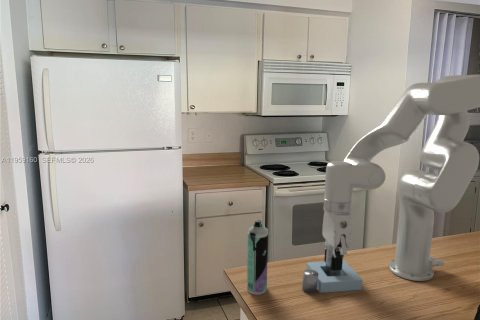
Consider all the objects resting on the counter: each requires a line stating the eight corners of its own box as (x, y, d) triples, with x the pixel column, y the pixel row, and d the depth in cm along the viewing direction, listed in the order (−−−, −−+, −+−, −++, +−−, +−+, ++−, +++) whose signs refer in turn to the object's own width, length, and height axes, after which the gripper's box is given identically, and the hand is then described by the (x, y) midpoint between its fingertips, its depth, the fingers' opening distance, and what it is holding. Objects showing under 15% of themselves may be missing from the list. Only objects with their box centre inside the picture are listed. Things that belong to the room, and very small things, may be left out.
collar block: (343, 269, 114) (344, 260, 113) (361, 289, 102) (362, 279, 102) (306, 271, 112) (306, 262, 112) (320, 292, 101) (321, 282, 100)
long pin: (335, 268, 109) (338, 237, 107) (341, 275, 105) (344, 242, 103) (323, 269, 108) (325, 237, 107) (328, 276, 105) (330, 243, 103)
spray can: (265, 295, 99) (267, 225, 95) (245, 293, 100) (246, 223, 96) (267, 285, 104) (269, 218, 100) (248, 283, 105) (249, 216, 101)
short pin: (315, 285, 104) (316, 269, 103) (317, 293, 100) (319, 277, 99) (301, 285, 104) (302, 268, 103) (303, 293, 100) (304, 276, 99)
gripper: (364, 214, 95) (358, 279, 99) (337, 196, 112) (333, 252, 115) (336, 215, 94) (331, 281, 98) (314, 197, 111) (310, 253, 114)
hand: (332, 265), depth 106 cm, fingers closed on long pin, 4 cm apart
